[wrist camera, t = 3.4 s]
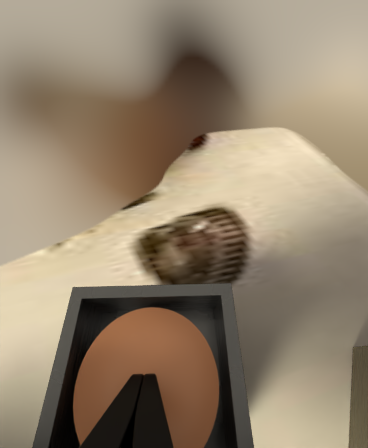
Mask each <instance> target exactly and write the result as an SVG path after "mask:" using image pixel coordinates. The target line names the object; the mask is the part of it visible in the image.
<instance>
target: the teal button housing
mask: <svg viewBox="0 0 368 448" xmlns="http://www.w3.org/2000/svg"><path fill="white" fill-rule="evenodd" d="M349 448H368V346H362V347H353V363H352V387H351V411H350V434H349Z"/></svg>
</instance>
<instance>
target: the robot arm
mask: <svg viewBox="0 0 368 448" xmlns="http://www.w3.org/2000/svg"><path fill="white" fill-rule="evenodd" d="M79 448H174V447H173V443H172V439H171V434H170V430H169V426H168V422H167V418H166V414H165V409H164V405H163V401H162V397H161V393H160V388H159V384H158V380H157V376H156V374H155V373H148V374H145V375H144V374H133V375H131V377H130V378H129V379H128V381H127V382H126V383H125V385H124V386H123V388H122V389H121V390H120V392H119V393H118V394H117V396H116V397H115V399H114V400H113V401H112V403H111V404H110V406H109V407H108V408H107V410H106V411H105V412H104V414H103V415H102V417H101V418H100V419H99V421H98V422H97V423H96V425H95V426H94V428H93V429H92V430H91V432H90V433H89V435H88V436H87V437H86V439H85V440H84V441H83V443H82V444H81V446H80V447H79Z"/></svg>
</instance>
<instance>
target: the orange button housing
mask: <svg viewBox="0 0 368 448" xmlns="http://www.w3.org/2000/svg"><path fill="white" fill-rule="evenodd" d="M150 307H154V308H164V309H168V310H171V311H174V312H176V313H178V314H180V315H182V316H184V317H185V318H187V319H188V320H189V321H191V322H192V323H193V324H194V325H195V326H196V327H197V328H198V329H199V331H200V332H201V333H202V335H203V336H204V337H205V339H206V341H207V342H208V344H209V346H210V348H211V351H212V353H213V356H214V359H215V363H216V367H217V371H218V379H219V402H218V409H217V414H216V419H215V422H214V425H213V429H212V431H211V434H210V436H209V438H208V441H207V442H206V444H205V446H204V448H254V445H253V438H252V430H251V423H250V416H249V409H248V402H247V394H246V387H245V380H244V373H243V366H242V358H241V351H240V344H239V337H238V330H237V322H236V315H235V308H234V301H233V294H232V287H231V283H226V284H185V285H143V286H102V287H73V289H72V293H71V297H70V301H69V305H68V309H67V313H66V316H65V320H64V324H63V328H62V332H61V336H60V340H59V344H58V348H57V352H56V356H55V360H54V364H53V368H52V372H51V376H50V380H49V384H48V388H47V392H46V396H45V400H44V403H43V407H42V411H41V415H40V419H39V423H38V427H37V431H36V435H35V439H34V443H33V447H32V448H79V447H80V446H81V445H80V443H79V440H78V436H77V433H76V428H75V423H74V413H73V400H74V390H75V384H76V380H77V376H78V372H79V369H80V367H81V364H82V361H83V359H84V357H85V355H86V353H87V351H88V350H89V348H90V346H91V345H92V343H93V342H94V340H95V339H96V338H97V336H98V335H99V334H100V333H101V332H102V331H103V330H104V329H105V328H106V327H107V326H108V325H109V324H110V323H112V322H113V321H114V320H116V319H117V318H119V317H120V316H122V315H124V314H126V313H128V312H131V311H134V310H137V309H142V308H150Z"/></svg>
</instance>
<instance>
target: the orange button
mask: <svg viewBox="0 0 368 448" xmlns="http://www.w3.org/2000/svg"><path fill="white" fill-rule="evenodd" d="M148 373H155V374H156V376H157V380H158V384H159V388H160V393H161V397H162V401H163V405H164V409H165V414H166V418H167V422H168V426H169V430H170V434H171V439H172V443H173V447H174V448H204V446H205V444H206V442H207V441H208V438H209V436H210V434H211V431H212V429H213V425H214V422H215V419H216V414H217V409H218V402H219V379H218V371H217V367H216V363H215V359H214V356H213V353H212V351H211V348H210V346H209V344H208V342H207V341H206V339H205V337H204V336H203V335H202V333H201V332H200V331H199V329H198V328H197V327H196V326H195V325H194V324H193V323H192V322H191V321H189V320H188V319H187V318H185V317H184V316H182V315H180V314H178V313H176V312H174V311H171V310H168V309H164V308H154V307H150V308H142V309H137V310H134V311H131V312H128V313H126V314H124V315H122V316H120V317H119V318H117V319H116V320H114V321H113V322H112V323H110V324H109V325H108V326H107V327H106V328H105V329H104V330H103V331H102V332H101V333H100V334H99V335H98V336H97V338H96V339H95V340H94V342H93V343H92V345H91V346H90V348H89V350H88V351H87V353H86V355H85V357H84V359H83V361H82V364H81V367H80V369H79V372H78V376H77V380H76V384H75V390H74V400H73V413H74V423H75V428H76V433H77V436H78V440H79V443H80V445H81V444H82V443H83V441H84V440H85V439H86V437H87V436H88V435H89V433H90V432H91V430H92V429H93V428H94V426H95V425H96V423H97V422H98V421H99V419H100V418H101V417H102V415H103V414H104V412H105V411H106V410H107V408H108V407H109V406H110V404H111V403H112V401H113V400H114V399H115V397H116V396H117V394H118V393H119V392H120V390H121V389H122V388H123V386H124V385H125V383H126V382H127V381H128V379H129V378H130V377H131V375H133V374H144V375H145V374H148Z"/></svg>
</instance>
